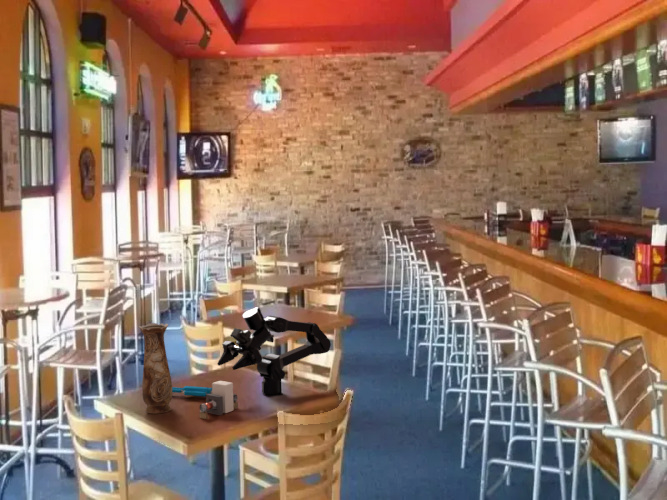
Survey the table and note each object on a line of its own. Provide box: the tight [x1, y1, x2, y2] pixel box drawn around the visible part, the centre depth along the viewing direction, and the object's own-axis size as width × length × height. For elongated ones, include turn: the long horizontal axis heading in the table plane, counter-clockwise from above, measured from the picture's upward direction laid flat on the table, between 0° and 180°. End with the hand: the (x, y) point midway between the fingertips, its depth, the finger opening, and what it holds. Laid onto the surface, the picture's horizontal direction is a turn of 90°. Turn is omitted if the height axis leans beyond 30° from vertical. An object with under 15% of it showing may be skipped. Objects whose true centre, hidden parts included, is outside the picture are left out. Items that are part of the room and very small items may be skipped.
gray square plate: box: [205, 393, 224, 416], centre depth 276 cm, size 2×6×6 cm, turn 55°
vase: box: [138, 322, 173, 414], centre depth 280 cm, size 10×11×30 cm
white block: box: [211, 380, 234, 414], centre depth 279 cm, size 4×6×10 cm, turn 55°
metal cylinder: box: [198, 393, 239, 420], centre depth 277 cm, size 16×3×5 cm, turn 145°
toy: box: [172, 385, 212, 398], centre depth 298 cm, size 8×6×30 cm
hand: (225, 366), depth 286 cm, fingers open, 9 cm apart
